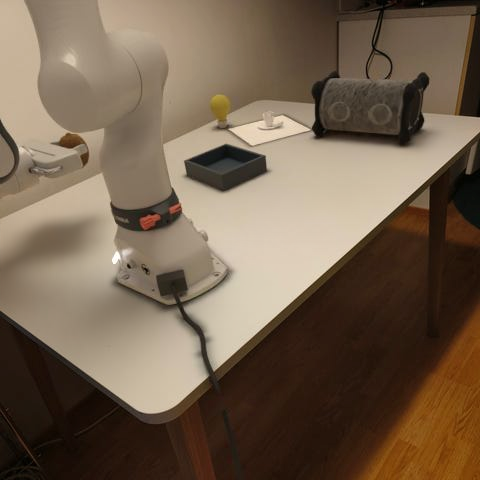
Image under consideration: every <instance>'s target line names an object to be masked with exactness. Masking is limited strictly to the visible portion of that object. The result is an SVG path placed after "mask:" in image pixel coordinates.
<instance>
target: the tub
mask: <svg viewBox="0 0 480 480" xmlns="http://www.w3.org/2000/svg"><path fill="white" fill-rule="evenodd" d="M183 164H184V169H185V173H186V176H188V177H189V178H193V179H195V180H197V181H199V182H202V183H205V184H206V185H209V186H212V187H214V188H216V189H219V190H221V191H226V190H229V189H231V188H233V187H235V186H238V185H239V184H242V183H244V182H246V181H248V180H250V179H253V178H255V177H257V176H259V175H261V174H263V173H266V172H267V171H268V166H267V155H265V154H261V153H258V152H255V151H252V150H248V149H246V148H242V147H239V146H235V145H233V144H229V143H224V144H221V145H218V146H216V147H214V148H212V149H209V150H206V151H204V152H201V153H199V154H197V155H194V156H192V157H189V158H187V159H184V160H183Z"/></svg>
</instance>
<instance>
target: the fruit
mask: <svg viewBox="0 0 480 480" xmlns="http://www.w3.org/2000/svg"><path fill="white" fill-rule="evenodd" d="M59 140H60V141H59ZM59 140H58V141H59V146H60V147H64V148H68V149H73V148H74V147H75V145H78V144H85V145H86V147H87V150H88V151H87V153H84V154H82V155H81V156H80V158H81V161H82V164H83V167H82V168H81V169H80V170H82V169H83V168H84V167H86V165H87V164H88V163H89V159H90V150H89V147H88V144H87V142H86V141H85V140H84V138H83V137H82V136H81V135H79V133H72V132H66V133H65V134H64V135H62V136H61V137H60V139H59Z"/></svg>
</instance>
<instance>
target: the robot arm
mask: <svg viewBox="0 0 480 480" xmlns="http://www.w3.org/2000/svg"><path fill="white" fill-rule="evenodd" d="M98 1H99V0H23V2H24V4H25V6H26V8H27V10H28V12H29V13H28V14H29V15H30V19H31V22H32V24H33V29H34V31H35V35H36V39H37V43H38V49H39V59H40V63H39V71H38V74H37V81H36V83H37V93H38V97H39V99H40V102H41V104H42V106H43V108H44V110H45V111H46V113H47V114H48V116H49V117H50V118H51V120H53V122H54V123H55V124H57V125H58V126H59V127H60V128H62V129H64V130H66V131H68V132H69V133H72V134H84V133H89V132H94V131H95V132H96V131H99V130H102V129H103V137H102V138H103V139H102V143H101V147H100V150H99V153H98V155H99V156H98V162H99V163H98V164H99V168H100V170H101V173H102V176H103V180H104V183H105V186H106V189H107V193H108V195H109V199H110V201H109V206H110V211H111V215H112V217H113V219H114V222H115V224H116V225H117V226H116V227H117V228H116V233H115V235H114V238H113V243H114V247H115V250H116V252H115V254H114V256H113V258H112V263H113V264H116V263H117V262H119V266H120V269H121V270H120V271H119V272H118V274H117V276H116V278H117V282H118V283H119V284H121V285H123V286H125V287H127V288H129V289H132V290H133V291H136V292H137V293H138V292H139V293H140V294H142V295H145V296H147V297H149V298H151V299H153V300H155V301H157V302H159V303H162V304H164V305H166V306H172V305H177V307H178V310H179V312H180V314H181V316H182V317H183V319H184V320H185V322H187V324H189V326H191V327H192V328H194V329H195V330H196V332H197V333H198V335H199V339H200V351H201V356H202V359H203V362H204V365H205V367H206V371H207V372H208V374H209V377H210V380H211V382H212V385H213V389H214V391H215V394H216V395H220V394H222V391H221V387H220V384H219V381H218V379H217V376H216V374H215V371H214V369H213V367H212V364H211V362H210V360H209V359H210V358H209V356H208V352H207V341H206V336H205V333H204V331H203V329H202V328H201V326H200V325H198V323H196V322H195V321H194V320H193V319H192V318H190V317H189V315H188V313H187V312H186V310H185V308H184V306H183V304H182V303H184V302H186V301H187V302H188V301H189V300H192V299H194V298H197V297H198V296H200V295H202V294H204V293H206V292H208V291H209V290H211V289H212V288H214V287H216V286H217V285H218V284H219V283H221V281H223V280H224V278H225V277H226V276H227V274H228V268H227V266H226V265H225V264H224V263H223V262H222V261H221V260H220V259H219V258H218V257H217V256H216V255H215V254H214V253H213V252H211V249H210V247H209V245H208V241H209V236H208V233H207V231H206V230H205V229H202V230H199V231H198V230H197V228H196V227H195V226H194V220H193V219H192V218H188V217H187V216H186V214H184V212H183V207H182V203H181V202H180V199H179V196H178V195H177V192H176V190H175V189H174V188H173V186H172V184H171V179H170V174H169V169H168V165H167V164H168V163H167V160H166V155H165V148H164V137H163V106H164V105H163V103H164V102H163V101H164V100H163V99H164V91H165V86H166V83H167V79H168V76H169V68H170V67H169V66H170V65H169V59H168V55H167V52H166V49H165V47H164V46H163V45H162V43H161V42H160V40H159V39H158V38H157V37H156V36H155V35H154V34H152V33H151V32H149V31H147V30H145V29H137V28H125V27H124V28H123V27H122V28H116V29H114V30H111V31H109V32H106V30H105V27H104V24H103V20H102V17H101V12H100V7H99V3H98ZM1 119H2V118H0V202H1V201H2V200H4V198H6V197H9V196H15V195H18V194H20V193H23V192H25V191H27V190H30V189H32V188H35V187H37V186H39V184H40V178H42V177H44V178H47V179H51V180H52V179H57V178H61V177H64V176H67V175H71V174H73V173H75V172H77V171H78V172H79V171H80V170H82V169H83V168H84V167H83V164H82V161H81V158H80V156H81V155H82V154H84V153H87V151H88V150H89V149H88V150H87V147H88V146H87V147H86V145H85V144H78V145H75V147H74V148H73V149H68V148H64V147H60V146H59V141H60V139H58V140H56V141H54V140H53V141H48V142H45V141H41V140H37V139H25V140H22V141H18V142H17V141H15V139H14V138H13V137H12V135H11V134H10V133H9V131H8V130H7V128H6V127H5V125H4V124H3V121H2V120H1ZM82 167H83V168H82ZM81 168H82V169H81ZM221 416H222V419H223V422H224V427H225V430H226V434H227V438H228V442H229V446H230V450H231V454H232V459H233V462H234V467H235V471H236V475H237V479H238V480H244V477H243V473H242V468H241V464H240V460H239V456H238V451H237V447H236V444H235V439H234V435H233V431H232V427H231V423H230V420H229V415H228V411H227V408H224V409H223V410H222V411H221Z"/></svg>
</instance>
